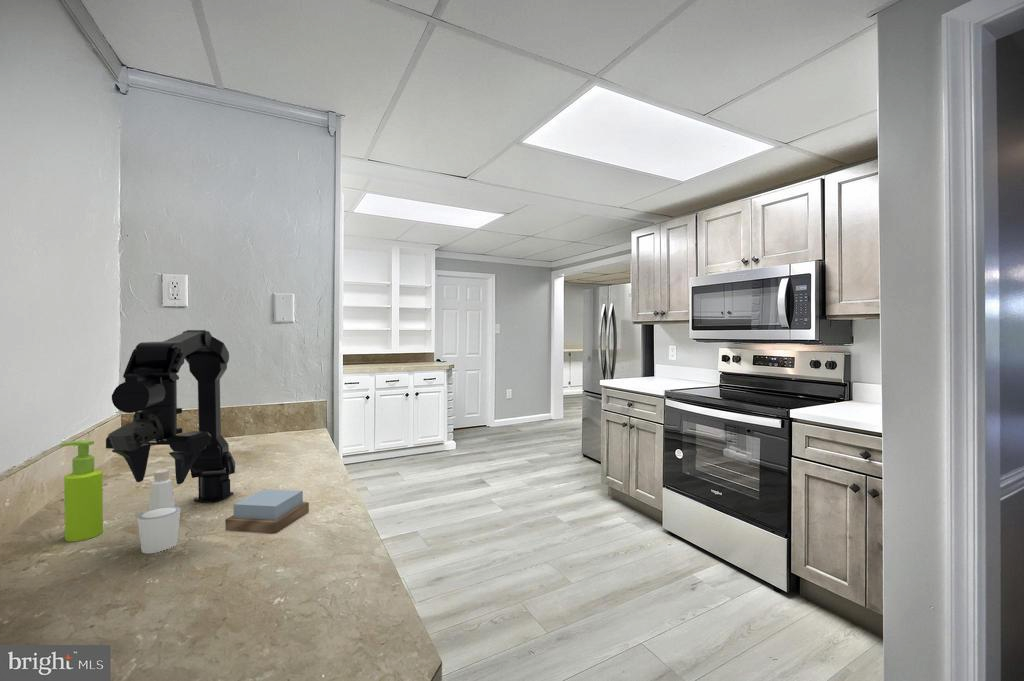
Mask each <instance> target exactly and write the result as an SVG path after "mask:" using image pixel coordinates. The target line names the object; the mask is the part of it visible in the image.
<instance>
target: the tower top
mask: <svg viewBox="0 0 1024 681" xmlns="http://www.w3.org/2000/svg"><path fill="white" fill-rule="evenodd" d="M303 496H304V495H303V490H293V489H289V490H288V489H269V488H268V489H266V488H264V489H262V490H259V491H258V492H255V493H253V494H252V495H249V496H247V497H245V498H243V499H241V500H239V501H238V502H237V501H236V502H235V503H234V504H233V515H234V518H245V519H264V520H277V519H278V518H280V517H282V516H283V515H285V514H286V513H288V512H290V511H291V510H293V509H295V508H296V507H298V506H299V505H301V504H303V502H304V500H303V499H304V497H303Z"/></svg>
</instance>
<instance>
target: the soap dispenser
mask: <svg viewBox="0 0 1024 681" xmlns="http://www.w3.org/2000/svg"><path fill="white" fill-rule="evenodd" d="M94 443H95V441H94V440H74V441H73V440H72V441H70V442H65V443H62V444H61V443H60V444H59V447H62V448H63V447H67V446H77V456H75V457H74V458H72V459H71V460H72V472H71V473H69V474H67V475H65V476H64V477H63V481H64V482H63V486H64V489H63V490H64V495H63V496H64V500H63V501H64V541H66V542H70V543H71V542H81V541H86V540H90V539H93V538H95V537H98V536H100V535H101V534H103V532H104V519H103V518H104V511H103V510H104V507H103V504H104V503H103V502H104V501H103V500H104V497H103V493H104V492H103V470H99V469H95V455H92V454H90V448H89V447H90V446H91V445H94Z"/></svg>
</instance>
